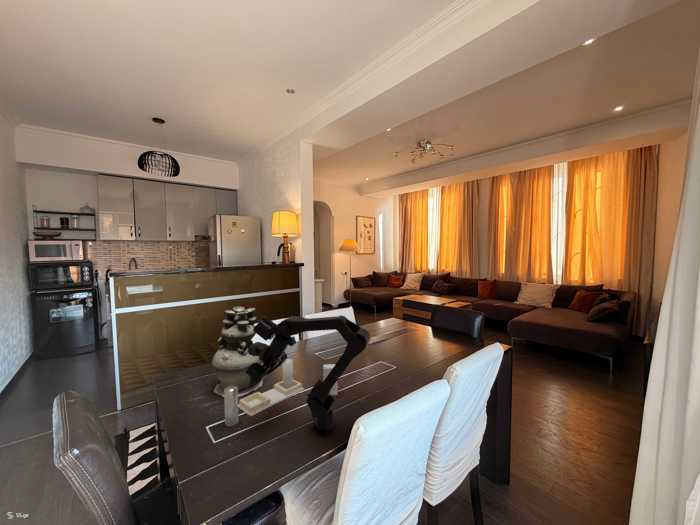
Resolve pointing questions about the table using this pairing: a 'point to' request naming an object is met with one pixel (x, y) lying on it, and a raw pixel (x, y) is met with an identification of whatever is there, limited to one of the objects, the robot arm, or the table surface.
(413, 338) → the table surface
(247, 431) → the table surface
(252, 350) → the robot arm
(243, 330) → the decorative urn
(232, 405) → the clear drinking glass
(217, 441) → the table surface
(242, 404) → the white oblong stand
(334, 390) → the skincare box
